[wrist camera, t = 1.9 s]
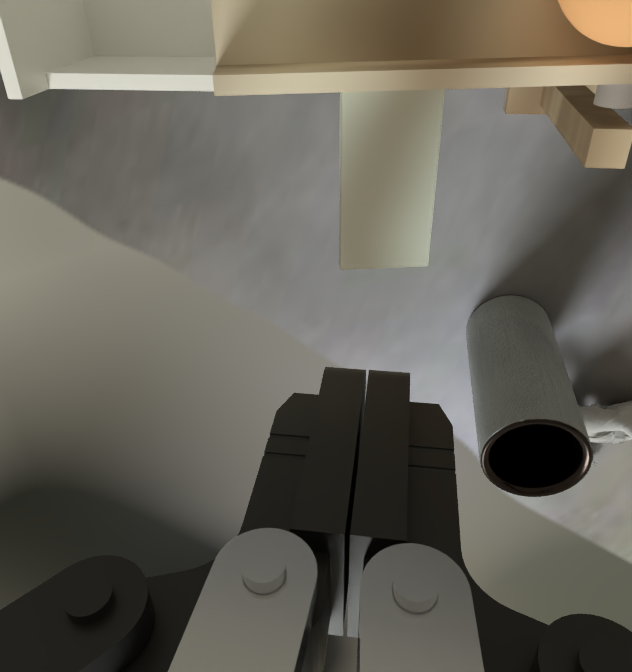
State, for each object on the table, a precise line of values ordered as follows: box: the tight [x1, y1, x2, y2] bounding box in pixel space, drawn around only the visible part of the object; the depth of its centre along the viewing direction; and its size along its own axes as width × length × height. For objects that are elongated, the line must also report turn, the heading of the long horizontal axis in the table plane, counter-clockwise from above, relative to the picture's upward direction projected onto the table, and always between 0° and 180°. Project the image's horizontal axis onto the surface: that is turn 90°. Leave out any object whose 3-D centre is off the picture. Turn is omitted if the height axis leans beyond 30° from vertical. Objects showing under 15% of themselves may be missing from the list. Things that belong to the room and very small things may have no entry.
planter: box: [466, 296, 593, 497], centre depth 29 cm, size 4×4×10 cm
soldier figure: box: [578, 400, 632, 466], centre depth 34 cm, size 8×5×12 cm
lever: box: [211, 0, 632, 270], centre depth 18 cm, size 20×13×8 cm, turn 91°
